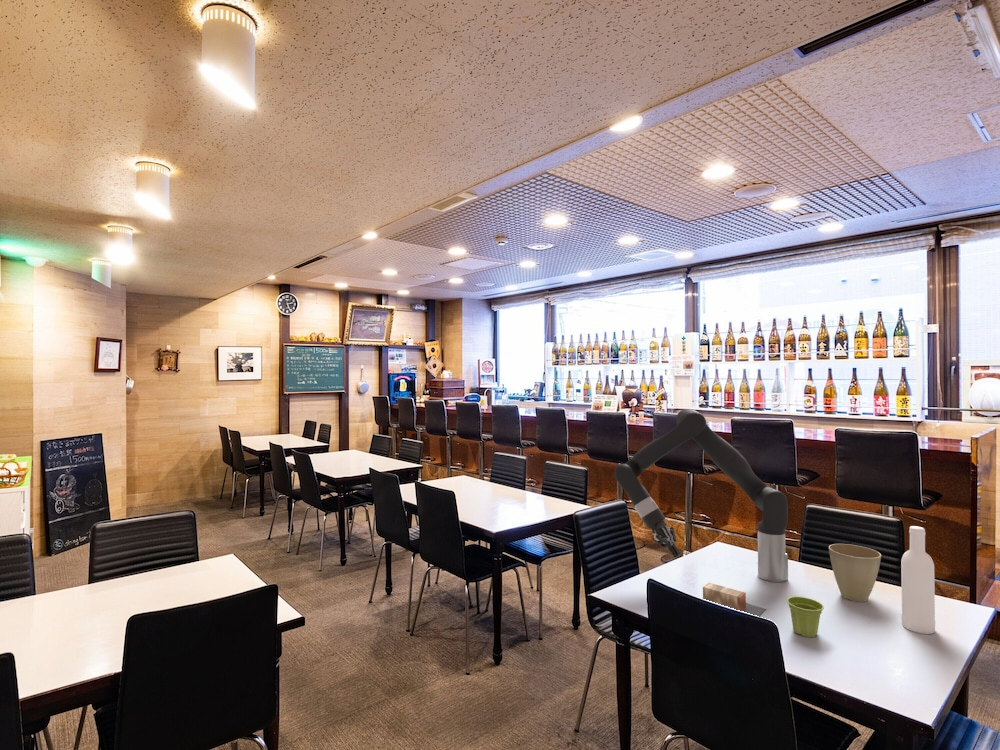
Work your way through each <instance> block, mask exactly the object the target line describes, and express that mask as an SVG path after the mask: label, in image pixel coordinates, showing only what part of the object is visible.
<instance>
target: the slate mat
mask: <svg viewBox="0 0 1000 750" xmlns="http://www.w3.org/2000/svg"><path fill="white" fill-rule="evenodd" d="M766 610H767V608H765V607H761V606H759V605H756V604H755V605H754V604H751V603H748V602H746V608H745V609H744V610H743V611H744V612H747V613H750V614H753V615H757V616H759V617H760V616H761V615H762V614H763V613H764V612H765V611H766Z"/></svg>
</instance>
